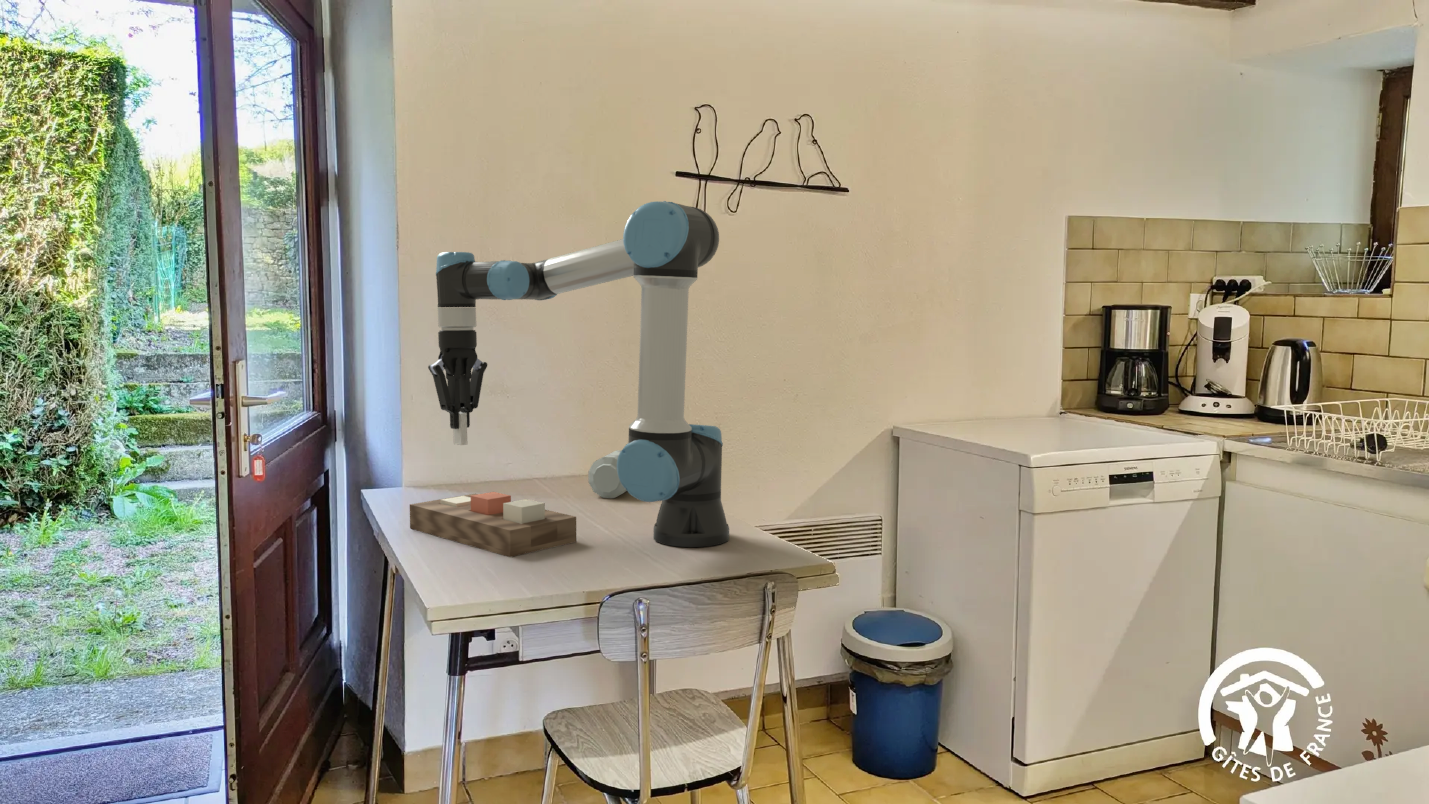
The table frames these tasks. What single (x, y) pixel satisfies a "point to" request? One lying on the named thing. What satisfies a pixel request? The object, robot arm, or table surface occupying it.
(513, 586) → the table surface
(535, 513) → the button front
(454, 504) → the button back
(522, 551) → the wooden button box
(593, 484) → the device
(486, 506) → the button middle
